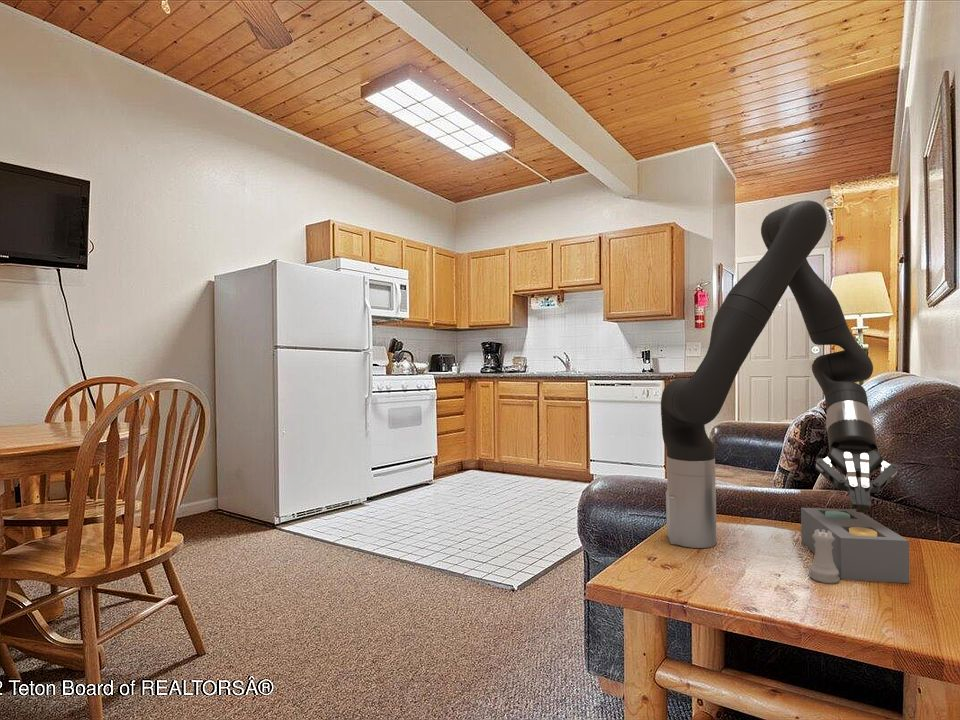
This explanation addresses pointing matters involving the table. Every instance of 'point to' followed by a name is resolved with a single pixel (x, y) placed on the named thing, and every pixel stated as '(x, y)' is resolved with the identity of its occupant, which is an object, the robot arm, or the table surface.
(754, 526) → the table surface
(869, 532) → the amber button
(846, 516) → the teal button
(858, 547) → the console
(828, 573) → the rook chess piece
